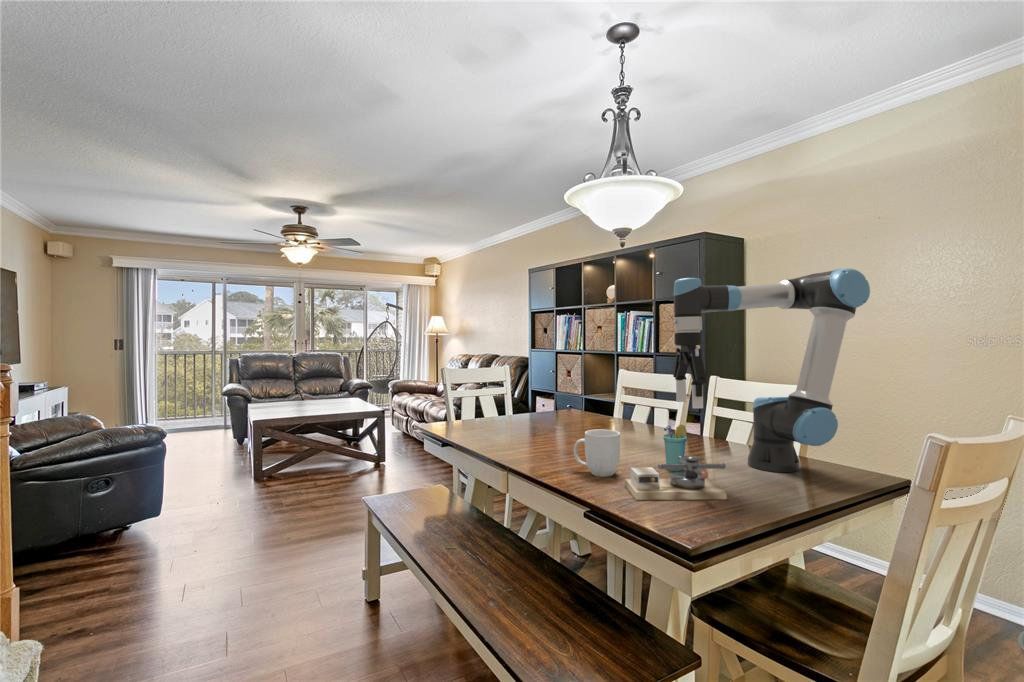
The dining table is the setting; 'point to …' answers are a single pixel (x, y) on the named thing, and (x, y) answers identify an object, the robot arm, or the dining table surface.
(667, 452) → the teal pot with plants
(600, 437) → the mug
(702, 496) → the stand
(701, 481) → the capstan
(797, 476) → the dining table surface
